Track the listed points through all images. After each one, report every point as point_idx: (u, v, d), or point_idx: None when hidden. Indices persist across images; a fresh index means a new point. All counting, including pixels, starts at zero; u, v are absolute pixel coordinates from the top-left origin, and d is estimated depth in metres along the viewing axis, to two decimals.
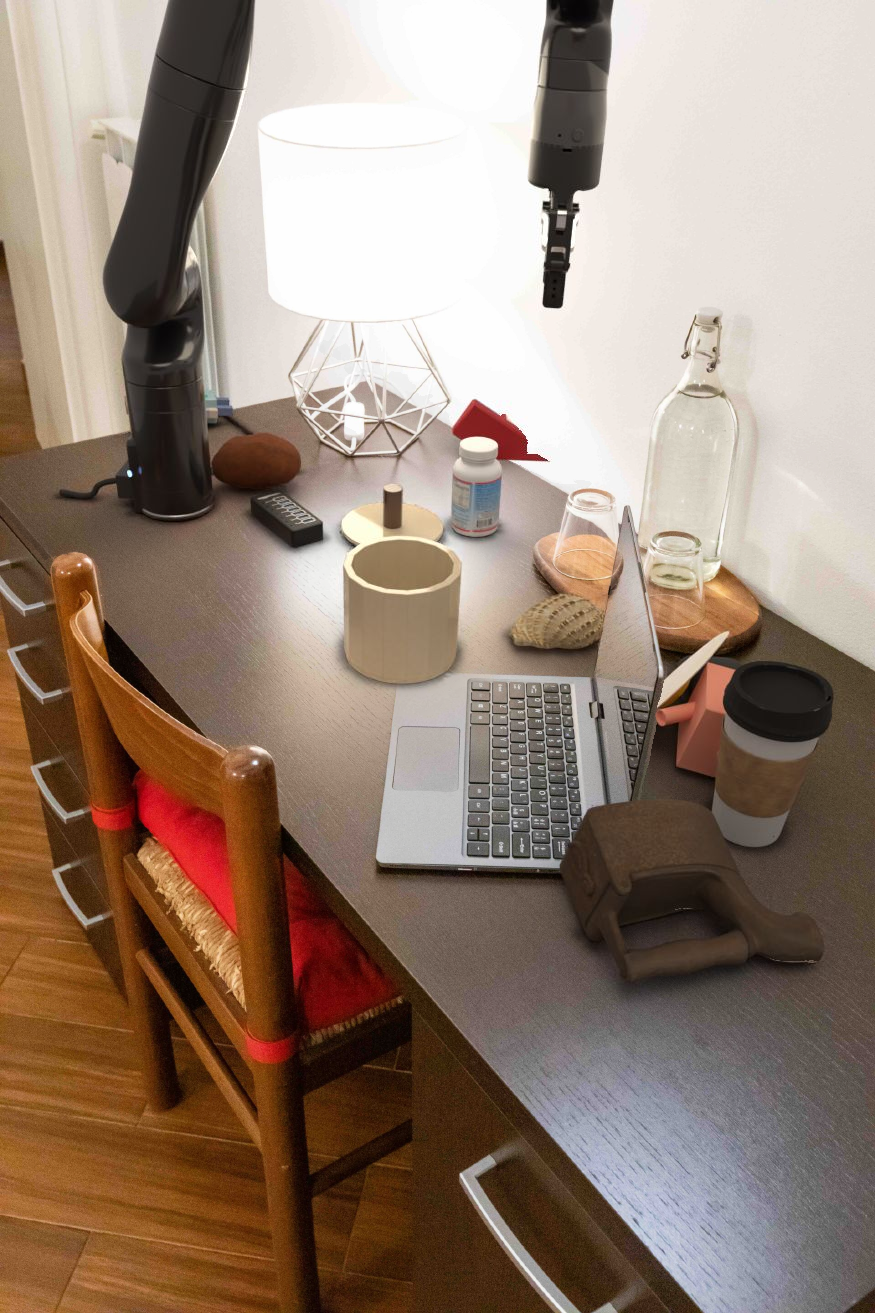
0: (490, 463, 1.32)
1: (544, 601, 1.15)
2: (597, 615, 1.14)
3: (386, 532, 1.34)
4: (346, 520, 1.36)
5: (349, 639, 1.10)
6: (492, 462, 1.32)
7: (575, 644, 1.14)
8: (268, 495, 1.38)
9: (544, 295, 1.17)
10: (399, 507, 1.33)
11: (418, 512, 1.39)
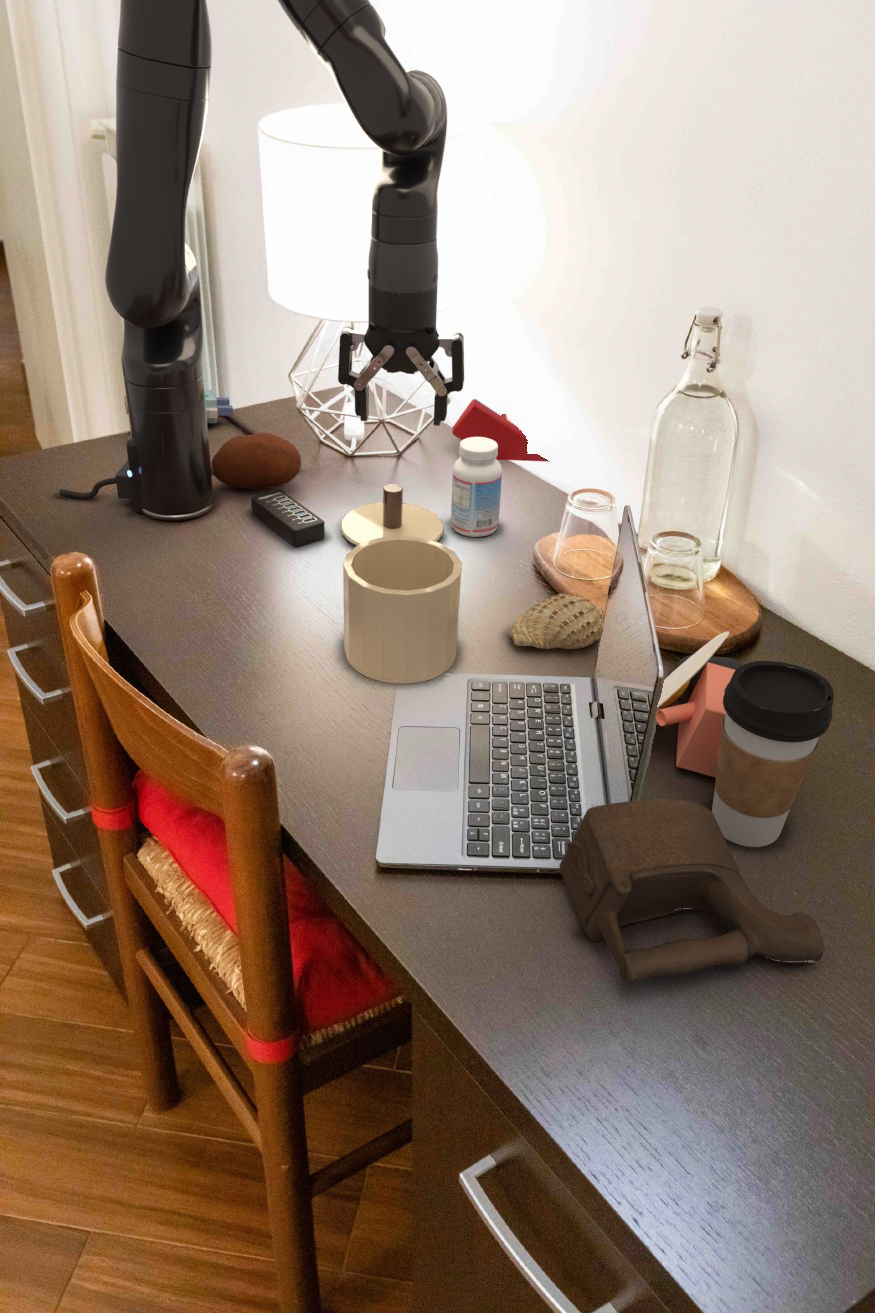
0: (490, 463, 1.32)
1: (544, 601, 1.15)
2: (597, 615, 1.14)
3: (386, 532, 1.34)
4: (346, 520, 1.36)
5: (349, 639, 1.10)
6: (492, 462, 1.32)
7: (575, 644, 1.14)
8: (269, 495, 1.38)
9: None
10: (399, 507, 1.33)
11: (418, 512, 1.39)
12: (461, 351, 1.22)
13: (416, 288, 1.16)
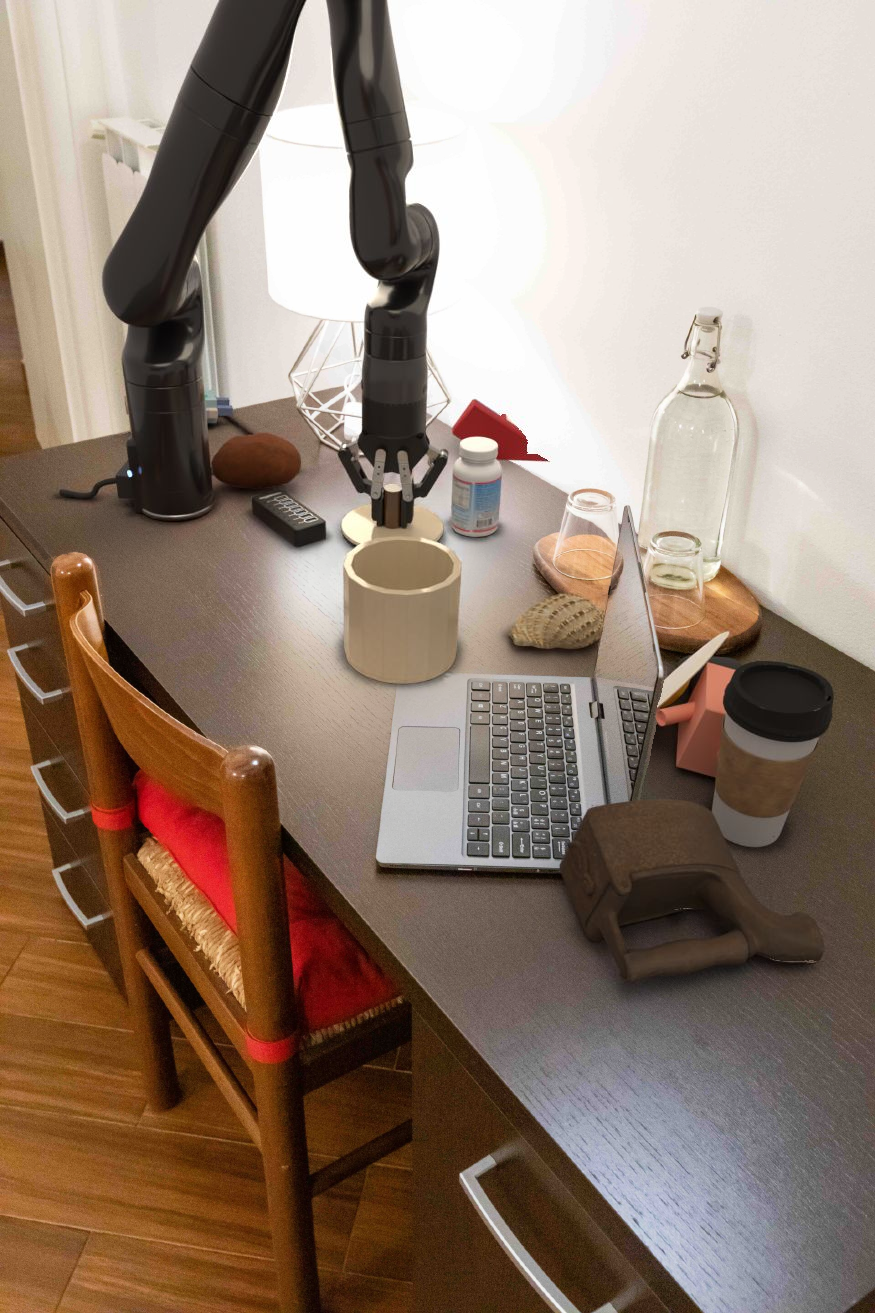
0: (490, 463, 1.32)
1: (544, 601, 1.15)
2: (597, 615, 1.14)
3: (386, 532, 1.34)
4: (346, 520, 1.36)
5: (349, 639, 1.10)
6: (492, 462, 1.32)
7: (575, 644, 1.14)
8: (269, 495, 1.38)
9: None
10: (399, 507, 1.33)
11: (418, 512, 1.39)
12: (442, 468, 1.30)
13: (406, 399, 1.23)
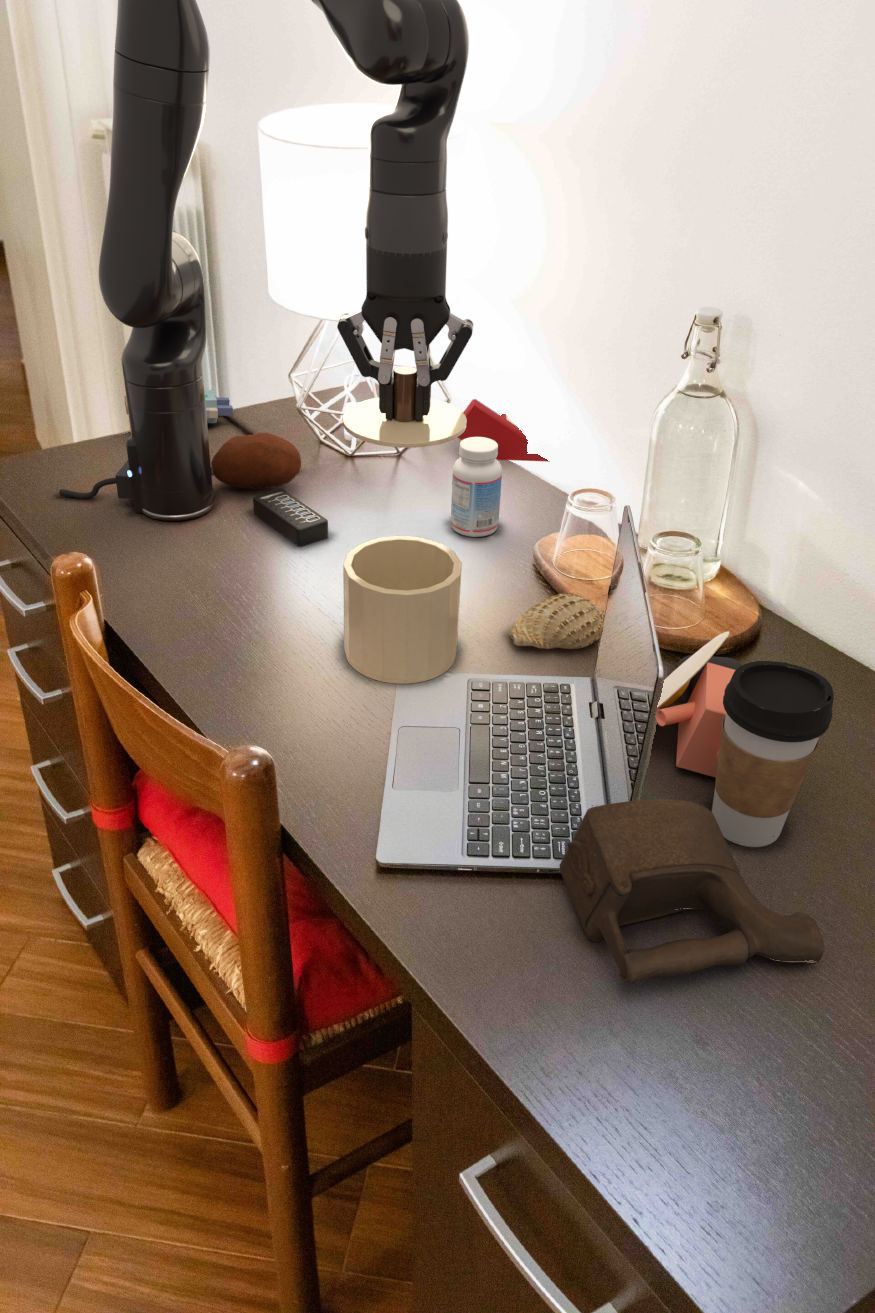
0: (490, 463, 1.32)
1: (544, 601, 1.15)
2: (597, 615, 1.14)
3: (398, 426, 1.10)
4: (348, 414, 1.12)
5: (349, 639, 1.10)
6: (492, 462, 1.32)
7: (575, 644, 1.14)
8: (270, 494, 1.38)
9: None
10: (413, 394, 1.09)
11: (436, 405, 1.14)
12: (466, 342, 1.05)
13: (423, 248, 0.99)
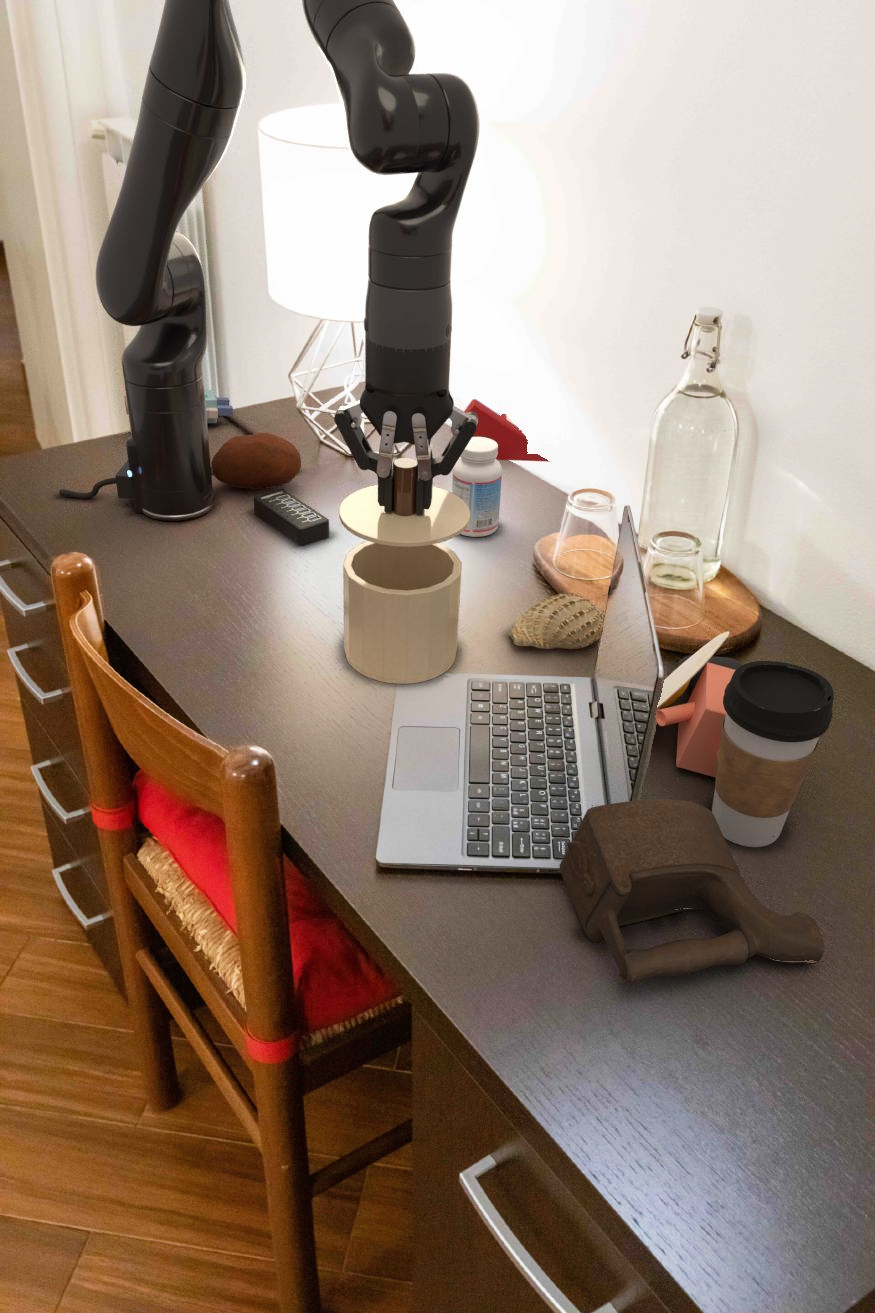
0: (490, 463, 1.32)
1: (544, 601, 1.15)
2: (597, 615, 1.14)
3: (397, 520, 1.04)
4: (345, 505, 1.06)
5: (349, 639, 1.10)
6: (492, 462, 1.32)
7: (575, 644, 1.14)
8: (271, 494, 1.38)
9: None
10: (414, 488, 1.03)
11: (438, 495, 1.09)
12: (470, 437, 0.99)
13: (425, 343, 0.93)
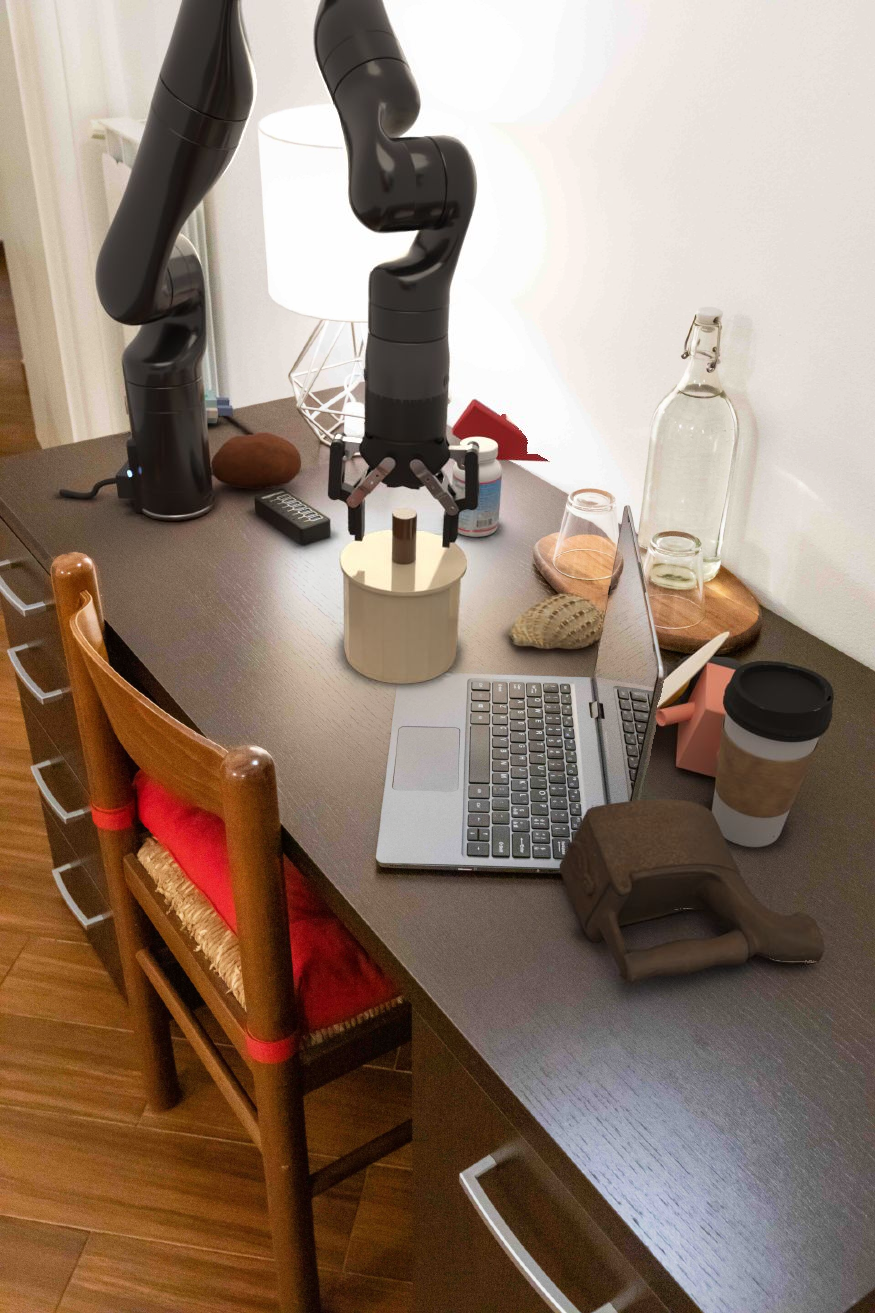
0: (490, 463, 1.32)
1: (544, 601, 1.15)
2: (597, 615, 1.14)
3: (396, 569, 1.07)
4: (346, 553, 1.09)
5: (349, 639, 1.10)
6: (492, 462, 1.32)
7: (575, 644, 1.14)
8: (272, 494, 1.39)
9: None
10: (412, 538, 1.06)
11: (436, 542, 1.11)
12: (476, 465, 1.01)
13: (423, 394, 0.95)
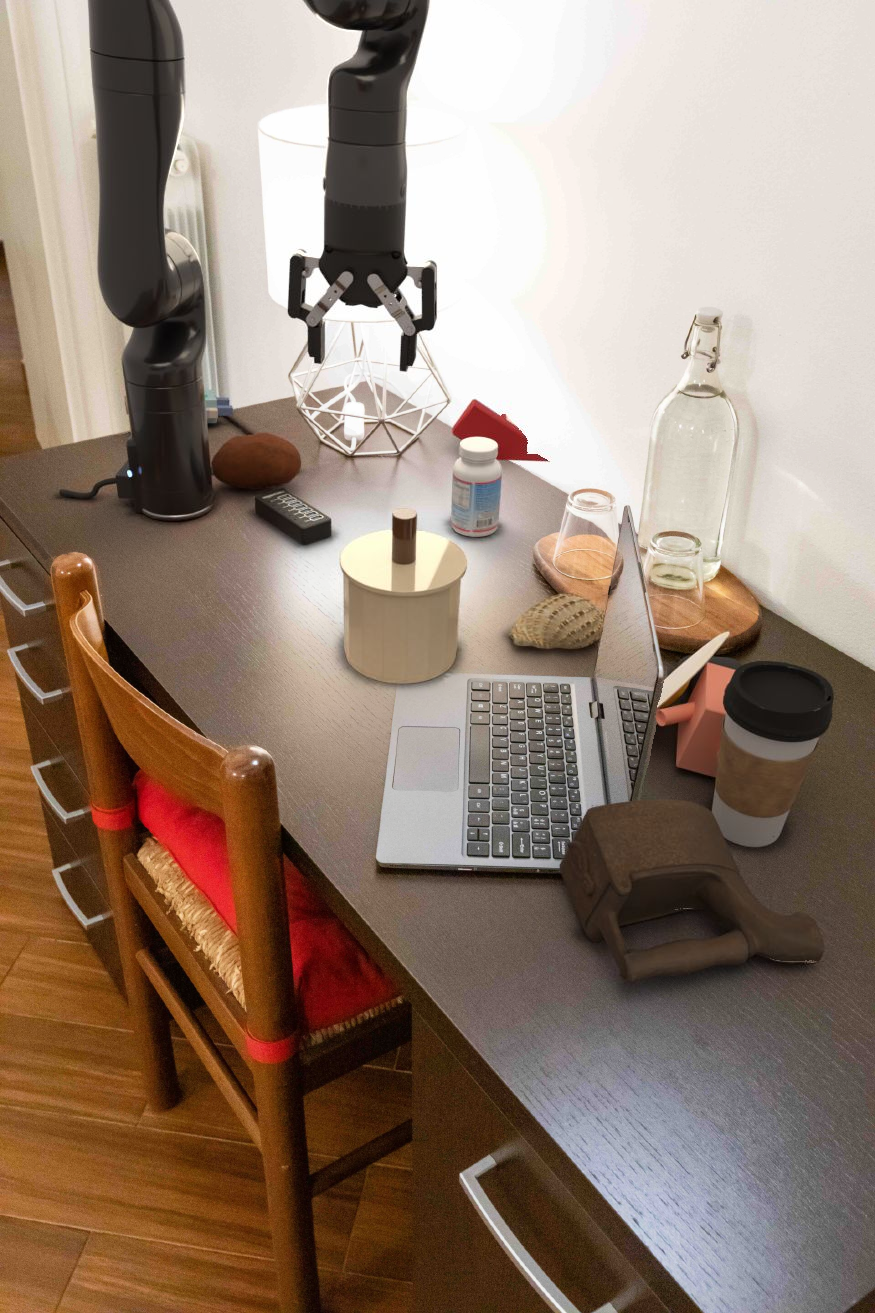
0: (490, 463, 1.32)
1: (544, 601, 1.15)
2: (597, 615, 1.14)
3: (396, 569, 1.07)
4: (346, 553, 1.09)
5: (349, 639, 1.10)
6: (492, 462, 1.32)
7: (575, 644, 1.14)
8: (272, 494, 1.39)
9: None
10: (412, 538, 1.06)
11: (436, 542, 1.11)
12: (433, 281, 1.03)
13: (379, 201, 0.97)
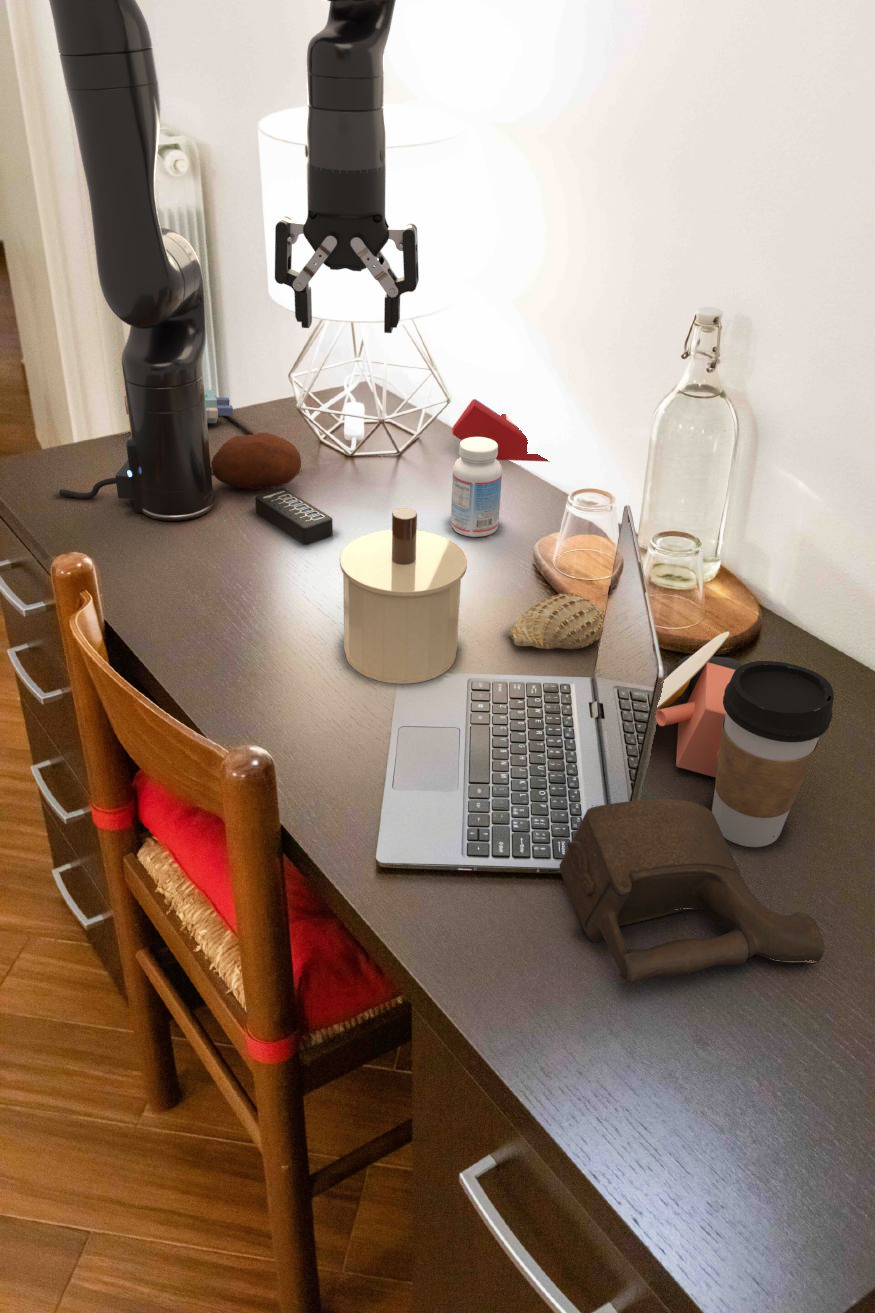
0: (490, 463, 1.32)
1: (544, 601, 1.15)
2: (597, 615, 1.14)
3: (396, 569, 1.07)
4: (346, 553, 1.09)
5: (349, 639, 1.10)
6: (492, 462, 1.32)
7: (575, 644, 1.14)
8: (273, 494, 1.39)
9: None
10: (412, 538, 1.06)
11: (436, 542, 1.11)
12: (413, 243, 1.07)
13: (359, 165, 1.01)
